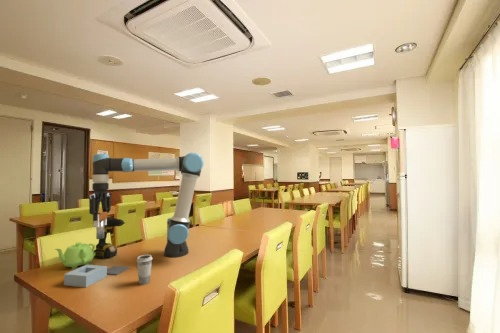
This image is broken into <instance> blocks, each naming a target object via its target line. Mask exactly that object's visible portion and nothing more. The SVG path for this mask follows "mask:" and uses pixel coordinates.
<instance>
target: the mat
mask: <svg viewBox="0 0 500 333" xmlns="http://www.w3.org/2000/svg"><path fill="white" fill-rule="evenodd" d="M130 268H131V266H125V265H123V266H122V265H113V266H111V267H109V268H108V267H107V275H109V276H118V275H119V274H122V273H123V272H126V271H127V270H129V269H130Z"/></svg>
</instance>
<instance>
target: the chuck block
mask: <svg viewBox="0 0 500 333" xmlns="http://www.w3.org/2000/svg"><path fill="white" fill-rule="evenodd" d="M107 269H108V266H107V265H96V264H94V265H93V264H89V265H85V266H84V265H81V266H80V267H77V268H76V269H72V270H71V271H68V272H66V273H64V274H63V285H64V286H66V287H67V286H68V287H80V288H88V287H90V286H91V285H93V284H95V283H97V282H99V281H101V280H103V279H104V278H106V277H108V276H107Z"/></svg>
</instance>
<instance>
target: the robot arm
mask: <svg viewBox="0 0 500 333" xmlns="http://www.w3.org/2000/svg"><path fill="white" fill-rule="evenodd" d="M204 162H205V161H204V159H203V157H202V155H200V154H199V153H196V152H189V153H187V154H186V155H183V156H177V157H175V158H174V157H173V158H171V157H170V158H169V157H168V158H139V159H138V158H137V159H136V158H135V159H134V158H131V157H130V158H129V157H110V156H109V154H106V153H105V154H104V153H95V154H93V156H92V162H91V163H92V164H91V165H92V180H91V181H92V186H91V188H92V190H93V193H92V194H89V195H88V196H87V197H88V201H89V202H88V203H89V206H88V207H89V209H88V212H89V213H88V214H89V215H92V220H93V221H94V223H93V228H96V227H99V214H98V212H100V211H99V210H100V207H101V209H102V212H107V214H109V213H110V211H111V208H112V207H111V206H112V201H111V200H112V193H111V192H110V193H109V192H108V190H109V189H110V188H109V186H110V183H109V181H110V179H109V178H110V177H109V175H110V174H109V172H110V173H111V172H123V173H130V172H153V171H154V172H155V171H156V172H157V171H178V172H180V174H181V175H182V177H181V182H180V186H179V191H178V194H177V200H176V204H175V208H174V212H173V216H172V217H168V218H167V221H166V225H167V226H166V245H165V247H164V250H163V255H164V256H165V257H168V258H179V257H183V256H186V255H188V254H189V250H190V249H189V247H188V243H187V240H188V237H189V236H190V234H189V233H190V232H189V229H190V224H191V220H190V218H189V216H190V212H191V208H192V207H191V206H192V203H193V197H194V195H195V194H194V192H195V187H196V184H197V179H199V178H200V177H201V173H202V169H203V167H204V164H205V163H204ZM100 205H101V206H100ZM104 225H107V219H105V220H104Z"/></svg>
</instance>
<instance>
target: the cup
mask: <svg viewBox="0 0 500 333" xmlns="http://www.w3.org/2000/svg"><path fill="white" fill-rule="evenodd" d="M152 260H153V257H152V255H151V254H142V255H139V256H137V258H136V262H137V264H136V266H137V277H138V284H139V285H140V286H144V285H148V284H150V282H151V280H150V279H151V275H152V274H151V273H152V263H153V262H152Z"/></svg>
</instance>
